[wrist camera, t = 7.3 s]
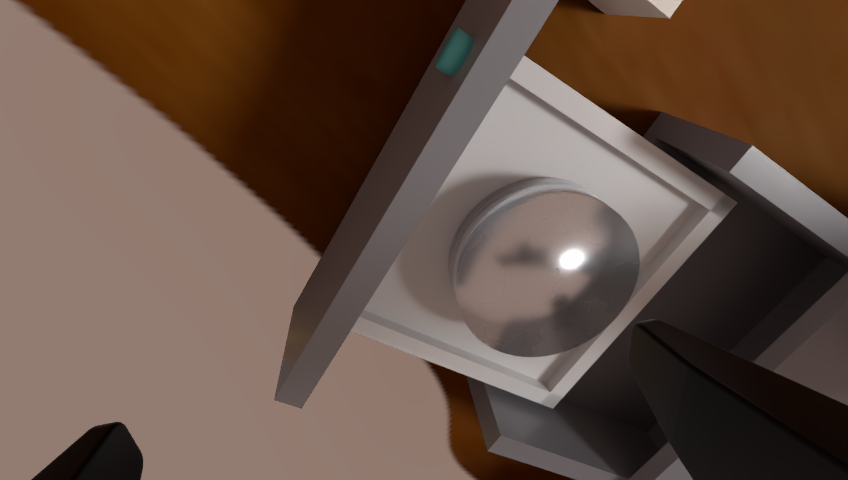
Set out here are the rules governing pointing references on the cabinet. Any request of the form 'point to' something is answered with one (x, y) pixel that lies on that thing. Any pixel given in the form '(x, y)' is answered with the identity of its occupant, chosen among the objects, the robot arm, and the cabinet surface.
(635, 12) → the block
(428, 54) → the cabinet surface
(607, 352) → the housing
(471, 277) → the disc
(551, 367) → the tray
